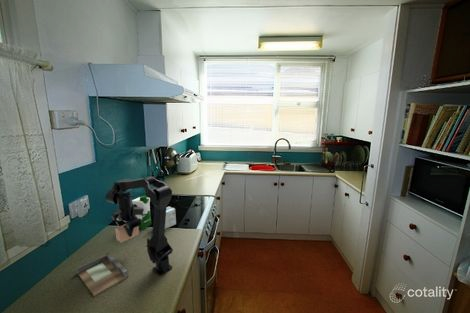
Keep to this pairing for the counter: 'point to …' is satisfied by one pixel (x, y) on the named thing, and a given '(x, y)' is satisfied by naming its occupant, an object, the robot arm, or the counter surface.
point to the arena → (101, 273)
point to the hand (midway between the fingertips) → (127, 234)
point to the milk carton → (144, 204)
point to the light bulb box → (170, 217)
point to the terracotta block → (125, 233)
